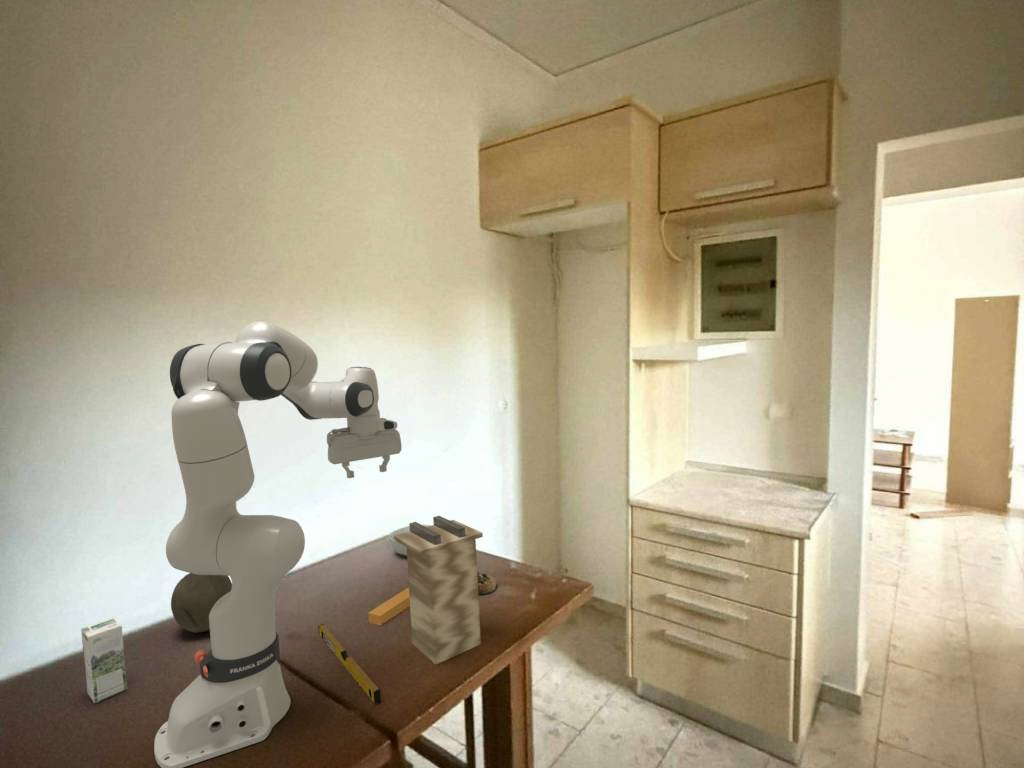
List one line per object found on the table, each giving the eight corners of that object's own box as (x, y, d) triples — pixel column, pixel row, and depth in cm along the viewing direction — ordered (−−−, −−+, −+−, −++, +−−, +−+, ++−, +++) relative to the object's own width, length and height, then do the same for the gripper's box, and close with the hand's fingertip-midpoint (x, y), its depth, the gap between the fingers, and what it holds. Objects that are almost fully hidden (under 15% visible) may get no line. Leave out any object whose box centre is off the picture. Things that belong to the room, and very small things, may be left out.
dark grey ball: (247, 622, 137) (242, 566, 136) (189, 649, 125) (184, 588, 124) (219, 609, 145) (215, 556, 144) (162, 633, 133) (157, 576, 132)
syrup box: (120, 680, 114) (113, 615, 113) (128, 690, 110) (121, 623, 109) (87, 694, 110) (80, 627, 109) (94, 705, 106) (87, 636, 105)
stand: (427, 668, 113) (419, 542, 111) (400, 643, 123) (393, 527, 122) (487, 640, 123) (482, 524, 121) (458, 619, 133) (452, 512, 131)
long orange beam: (369, 624, 134) (368, 612, 134) (418, 590, 151) (418, 580, 151) (380, 627, 132) (380, 616, 132) (429, 593, 149) (429, 583, 149)
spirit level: (381, 703, 103) (380, 689, 103) (374, 706, 102) (373, 692, 102) (324, 635, 129) (323, 623, 129) (319, 637, 128) (318, 625, 128)
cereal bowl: (425, 539, 192) (423, 520, 191) (449, 551, 179) (448, 531, 178) (382, 552, 181) (380, 532, 180) (405, 566, 168) (403, 545, 168)
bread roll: (451, 592, 148) (452, 574, 149) (471, 581, 158) (472, 564, 159) (485, 600, 144) (486, 582, 144) (504, 588, 154) (504, 571, 154)
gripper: (330, 431, 136) (333, 483, 137) (402, 421, 148) (405, 470, 149) (322, 429, 141) (325, 479, 142) (392, 420, 153) (395, 466, 154)
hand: (367, 474), depth 146 cm, fingers open, 8 cm apart
